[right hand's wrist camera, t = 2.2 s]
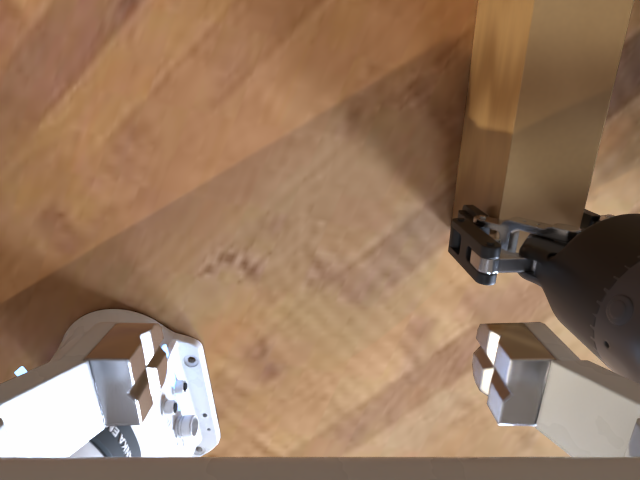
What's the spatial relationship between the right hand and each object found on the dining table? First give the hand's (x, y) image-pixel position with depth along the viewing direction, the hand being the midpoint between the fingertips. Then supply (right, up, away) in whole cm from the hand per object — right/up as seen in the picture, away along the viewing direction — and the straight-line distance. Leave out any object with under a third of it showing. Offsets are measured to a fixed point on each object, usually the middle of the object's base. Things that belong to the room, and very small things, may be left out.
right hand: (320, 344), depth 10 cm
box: (+16, +16, +25) cm, 34 cm away
